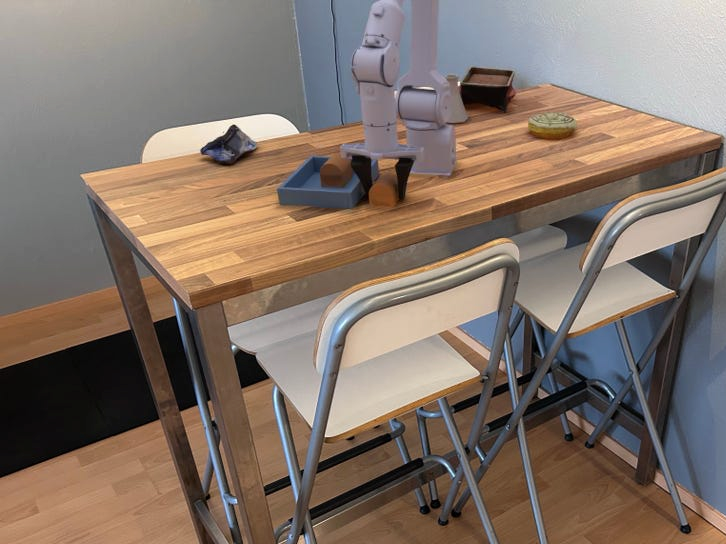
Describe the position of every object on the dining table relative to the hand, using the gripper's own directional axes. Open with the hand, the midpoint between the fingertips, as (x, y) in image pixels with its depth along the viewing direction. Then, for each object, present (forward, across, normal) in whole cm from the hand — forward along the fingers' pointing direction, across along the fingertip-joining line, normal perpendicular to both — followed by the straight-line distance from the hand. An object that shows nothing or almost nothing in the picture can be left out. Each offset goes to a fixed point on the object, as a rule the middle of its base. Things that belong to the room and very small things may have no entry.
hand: (386, 197), depth 133 cm
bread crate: (+1, -12, +4) cm, 12 cm away
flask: (+1, +2, +50) cm, 51 cm away
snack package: (+1, -38, +19) cm, 43 cm away
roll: (0, -12, +7) cm, 14 cm away
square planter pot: (+1, +8, +64) cm, 64 cm away
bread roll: (+1, 0, 0) cm, 1 cm away
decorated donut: (+1, +26, +44) cm, 51 cm away
